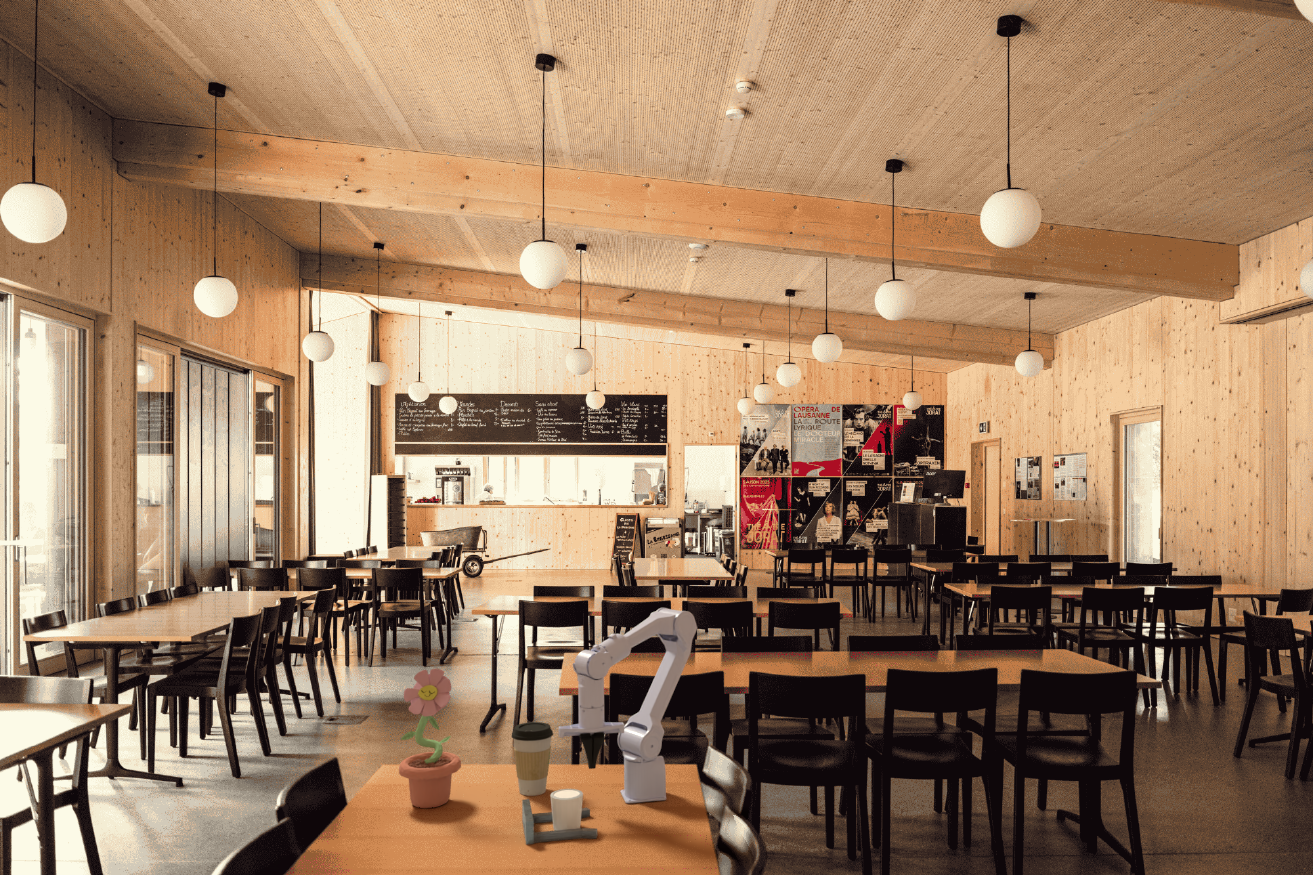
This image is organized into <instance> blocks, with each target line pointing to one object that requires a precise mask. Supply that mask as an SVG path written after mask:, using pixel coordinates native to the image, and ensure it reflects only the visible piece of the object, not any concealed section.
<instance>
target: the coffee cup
mask: <svg viewBox="0 0 1313 875" xmlns="http://www.w3.org/2000/svg"><path fill="white" fill-rule="evenodd" d="M553 735H554V732H553V729H552V727H551V725H550V724H549V723H546V722H539V721H530V722H523V723H520V724H517V725H515V726H514V728H513V731H512V732H511V738H512V739H513V745H514V746H513V751H514V760H515V761H514V762H515V772H516V777H517V780H518V790H519V791H518V792H519V794H520V795H523V796H527V797H529V796H530V797H532V796H539V795H542V794H544V793H546V791H547V782H548V780H547V779H548V776H549V769H550V768H549V767H550V758H551V757H550V756H551V750H552V749H551V748H552V745H551V743H552V736H553Z"/></svg>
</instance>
